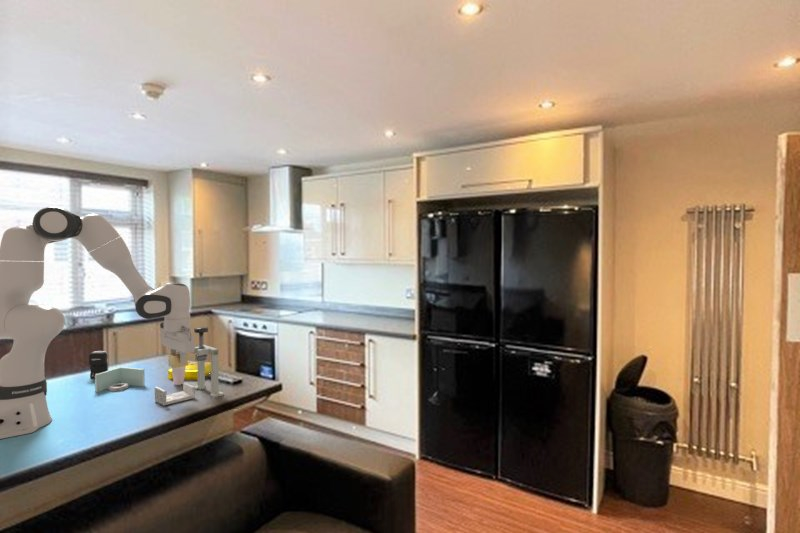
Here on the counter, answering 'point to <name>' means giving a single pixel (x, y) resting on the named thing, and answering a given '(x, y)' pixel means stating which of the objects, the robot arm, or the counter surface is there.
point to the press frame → (214, 370)
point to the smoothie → (178, 375)
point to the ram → (201, 342)
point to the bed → (174, 395)
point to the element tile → (192, 371)
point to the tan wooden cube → (176, 360)
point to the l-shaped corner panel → (119, 379)
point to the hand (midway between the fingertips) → (178, 361)
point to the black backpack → (98, 362)
